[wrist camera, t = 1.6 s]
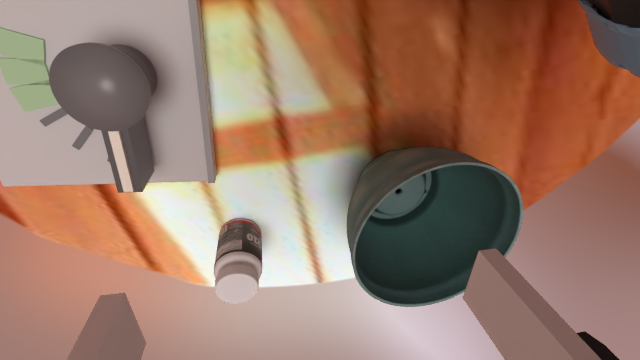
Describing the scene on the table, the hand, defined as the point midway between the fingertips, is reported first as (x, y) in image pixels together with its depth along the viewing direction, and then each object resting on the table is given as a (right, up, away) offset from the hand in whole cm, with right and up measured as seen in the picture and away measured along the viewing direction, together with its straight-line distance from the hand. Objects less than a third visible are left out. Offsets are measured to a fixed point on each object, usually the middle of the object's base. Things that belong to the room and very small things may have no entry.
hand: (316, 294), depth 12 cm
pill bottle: (-9, -2, +25) cm, 27 cm away
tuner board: (-19, +13, +15) cm, 27 cm away
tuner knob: (-16, +10, +15) cm, 24 cm away
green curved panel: (-20, +11, +14) cm, 26 cm away
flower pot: (+9, +4, +26) cm, 28 cm away
